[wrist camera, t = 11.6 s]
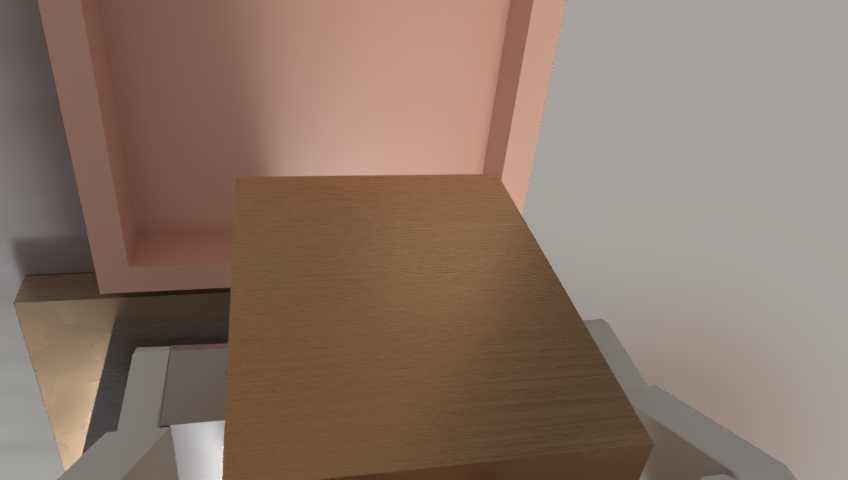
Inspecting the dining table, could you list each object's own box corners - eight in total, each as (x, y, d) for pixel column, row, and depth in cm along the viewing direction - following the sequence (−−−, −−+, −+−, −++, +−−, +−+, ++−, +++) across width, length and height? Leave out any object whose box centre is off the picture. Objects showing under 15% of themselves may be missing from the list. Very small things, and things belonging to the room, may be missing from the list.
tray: (491, 235, 27) (510, 273, 25) (112, 249, 24) (100, 293, 22) (564, -173, 20) (600, -165, 18) (20, -229, 17) (-11, -226, 15)
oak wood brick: (464, 358, 15) (593, 727, 9) (248, 374, 14) (243, 798, 8) (497, 174, 12) (701, 527, 7) (235, 177, 11) (217, 593, 6)
